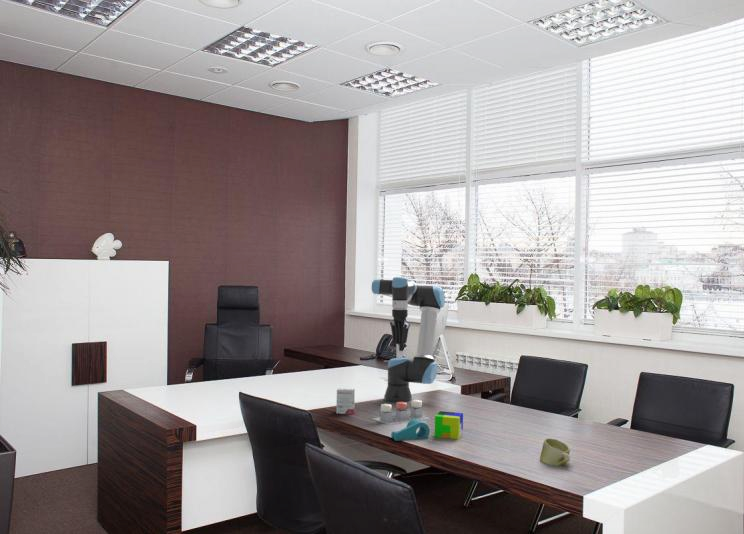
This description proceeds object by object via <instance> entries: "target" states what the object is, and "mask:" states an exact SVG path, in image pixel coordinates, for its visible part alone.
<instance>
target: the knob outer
mask: <svg viewBox="0 0 744 534" xmlns="http://www.w3.org/2000/svg"><path fill="white" fill-rule="evenodd" d="M392 408H393V407H392V404H391V403H381V404H380V412H381V411H383V412H385V413H388V412H392Z"/></svg>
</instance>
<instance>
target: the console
mask: <svg viewBox="0 0 744 534" xmlns="http://www.w3.org/2000/svg"><path fill="white" fill-rule="evenodd" d="M413 419H418V420H420V421H423V420H425V421H426V420H430V419H431V418H430V417H427V416H424V415H423V407H419V408H415V407H411V406H410V412H408V409H405V410H402V411H401V410H399V409H396V408H395V414H393V412H392V411H390V412H388V413H385V412H383V411H381V410H380V411H379V417H375V418H374V417H373V418H372V420H373V421H375V422H376V421H377V422H379V423H381V424H385V425H387V426H392V425H398V424H399V425H400V424H406V423H409V421H411V420H413Z"/></svg>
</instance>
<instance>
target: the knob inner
mask: <svg viewBox="0 0 744 534" xmlns="http://www.w3.org/2000/svg"><path fill="white" fill-rule="evenodd" d="M410 404H411V406H410V408H411V407H415V408H419V407H421V408H423V407H422V406H423V401H422V400H419V399H413V400H412V401H410Z"/></svg>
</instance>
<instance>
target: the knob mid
mask: <svg viewBox="0 0 744 534" xmlns="http://www.w3.org/2000/svg"><path fill="white" fill-rule="evenodd" d="M395 405H396V407H395V410H396V409H399V410H401V411H402V410H408V407H407V406H408V402H397V403H396V404H395Z"/></svg>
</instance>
